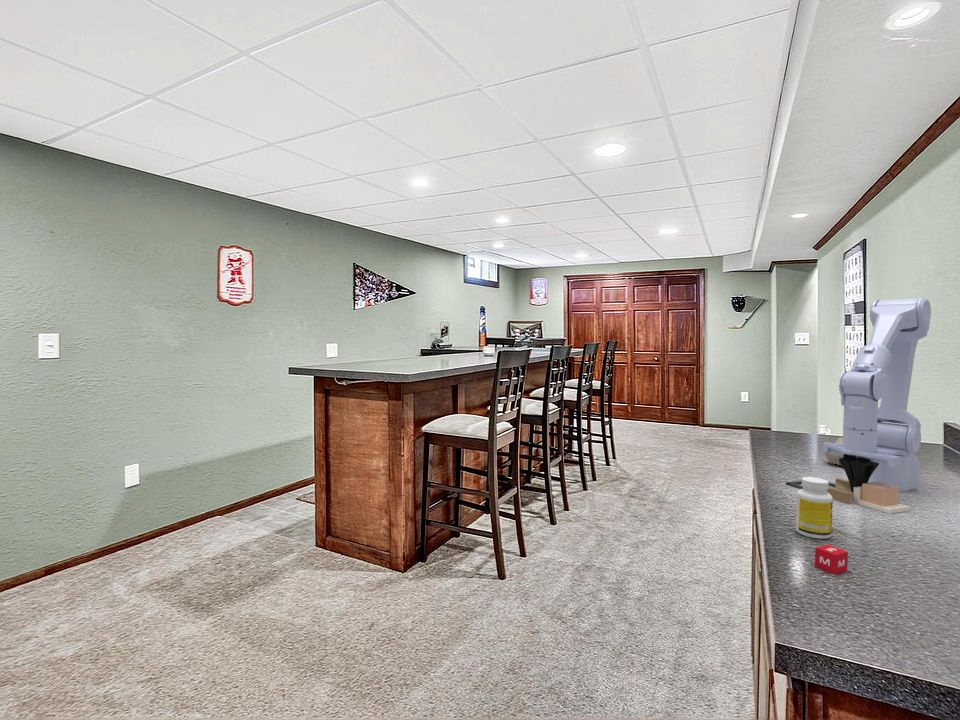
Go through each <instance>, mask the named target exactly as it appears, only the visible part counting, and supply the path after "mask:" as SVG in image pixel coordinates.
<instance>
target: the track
mask: <svg viewBox="0 0 960 720" xmlns="http://www.w3.org/2000/svg"><path fill="white" fill-rule="evenodd" d="M835 484H836V485H835V488H834V487H831V486H829V488H828V490H827V493H829V494H830V495H831V496H832V498H833V501H836V502H840V503H843V504H846V505H852V504H853V494H854V493H853V492H851V488H850V484H849V480H848V479H844V478H840V477H838V478H835Z"/></svg>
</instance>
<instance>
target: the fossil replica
mask: <svg viewBox="0 0 960 720" xmlns="http://www.w3.org/2000/svg"><path fill="white" fill-rule="evenodd" d="M834 443H837V444H843V437H839V438H837V439H836V441H835V442H834ZM824 455H825V457H826V459H827V460H828V462H829V463H831V464H832V463H833V464H832V465H835V464H837V465H836V466H839V465H841V464H840V462H839V458H843V457H844V455H841V454H837V453H832V452H824ZM863 457H864V456H863Z"/></svg>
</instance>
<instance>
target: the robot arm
mask: <svg viewBox="0 0 960 720" xmlns="http://www.w3.org/2000/svg"><path fill="white" fill-rule="evenodd" d="M931 318H932V308H931V303H930V300H928V299H927V298H926V297H925V296H923V297H918V298H917V297H915V298H895V299H875V300H874V301H873V302H872V303H871V304H870V307H869V319H870V322H871V325H872V327H873V328H872V332H871V335H870V339H869V342H868V344H866V345H863V346H862V347H861V348H860V349H859V351H858V353H857V355H856V357H855V359H854V361H853V364H852V366H851V368H850V370H848V371H846V373H843V374H841V376H840V380H839V382H838V383H839V384H838V389H839V390H838V391H839V394H840V403H841V406H843V418H842V419H843V420H842V421H843V423H842V438H843V444H837V443H835V442H831V441H829V442H822V445H823V446H822V452H823V453H825V452H832V453H837V454H841V455H844V457H843V458H839V462H840V464H841V465H842V466H841V467H842V468H843V470H844V472H845V475H846V477H847V480H848V481H849V484H850V488H851V492H853V493H852V494H854V487H860V486H862V484H863V483H871V482H881V483H885V484H889V485H893V486H897V487H899V493H900V492H902V493H903V492H908V491H911V490H917V491H921V492H924V490H923V489H920V471H921V470H920V468H921V464H920V461H919V460H918V458H917V456H916V455H915V453H916V452H918V451H919V449H920V448H921V442H922V432H921V428H922V426H921V425H922V424H921V422H920V420H919V418H917V417H916V416H914V415H913V414H911V413H910V412H909V411H907V409H908V404H909V403H908V402H909V396H910V389H911V382H912V375H913V369H914V361H915V354H916V348H917V345H918V342H919V340H921V339H923V338H924V339H925V338H926V337H927V336H928V332H929V329H930V325H931V324H930V323H931ZM879 400H880V406H879ZM863 456H864V457H863ZM851 492H850V493H851Z"/></svg>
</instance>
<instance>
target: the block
mask: <svg viewBox="0 0 960 720" xmlns="http://www.w3.org/2000/svg"><path fill="white" fill-rule="evenodd" d="M899 493H900V492H899V487H897V486H893V485H889V484H885V483H881V482H871V483H863V484H862V501H866V502H869V503H872V504H876V505H879V506H882V507H883V506H890V505H897V504H899Z"/></svg>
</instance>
